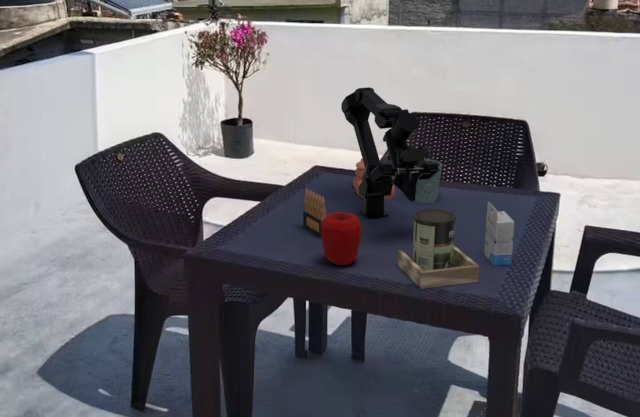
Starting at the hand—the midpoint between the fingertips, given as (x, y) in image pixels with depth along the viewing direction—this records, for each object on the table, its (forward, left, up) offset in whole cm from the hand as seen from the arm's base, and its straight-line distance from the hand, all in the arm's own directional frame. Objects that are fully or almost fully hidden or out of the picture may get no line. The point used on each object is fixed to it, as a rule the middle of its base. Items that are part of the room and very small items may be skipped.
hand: (413, 200), depth 210 cm
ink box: (+18, +15, -13) cm, 27 cm away
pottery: (-47, +10, -13) cm, 50 cm away
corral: (+20, -4, -12) cm, 23 cm away
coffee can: (+17, -3, -13) cm, 21 cm away
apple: (+4, -23, -12) cm, 26 cm away
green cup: (-33, +22, -13) cm, 41 cm away
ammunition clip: (-19, -21, -13) cm, 31 cm away
